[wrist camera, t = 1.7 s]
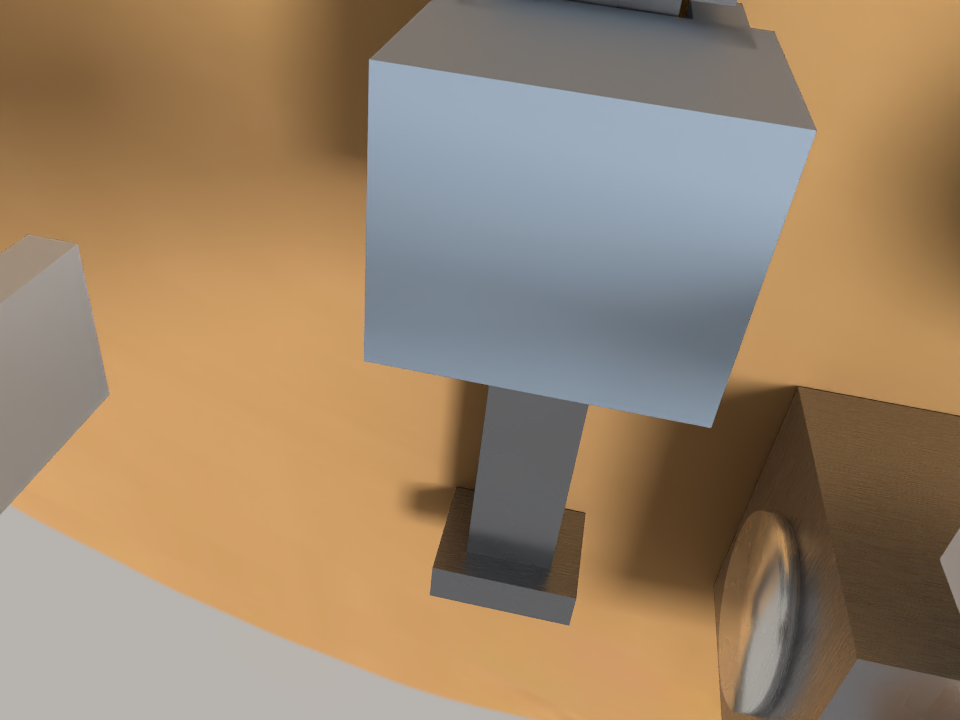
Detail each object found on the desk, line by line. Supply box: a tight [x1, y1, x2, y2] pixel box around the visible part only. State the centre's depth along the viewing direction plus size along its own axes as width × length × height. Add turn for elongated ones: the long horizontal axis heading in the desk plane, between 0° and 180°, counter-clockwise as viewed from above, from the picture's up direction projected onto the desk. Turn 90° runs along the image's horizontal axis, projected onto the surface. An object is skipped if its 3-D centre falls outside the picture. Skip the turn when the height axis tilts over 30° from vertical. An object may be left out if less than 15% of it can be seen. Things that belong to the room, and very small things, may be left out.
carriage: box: [364, 0, 817, 428], centre depth 18 cm, size 6×7×8 cm
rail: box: [430, 0, 737, 625], centre depth 24 cm, size 22×5×4 cm, turn 174°
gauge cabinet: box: [714, 386, 960, 720], centre depth 24 cm, size 10×11×10 cm
